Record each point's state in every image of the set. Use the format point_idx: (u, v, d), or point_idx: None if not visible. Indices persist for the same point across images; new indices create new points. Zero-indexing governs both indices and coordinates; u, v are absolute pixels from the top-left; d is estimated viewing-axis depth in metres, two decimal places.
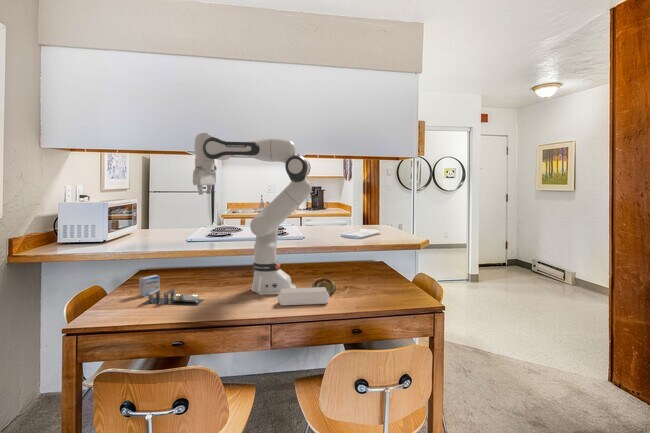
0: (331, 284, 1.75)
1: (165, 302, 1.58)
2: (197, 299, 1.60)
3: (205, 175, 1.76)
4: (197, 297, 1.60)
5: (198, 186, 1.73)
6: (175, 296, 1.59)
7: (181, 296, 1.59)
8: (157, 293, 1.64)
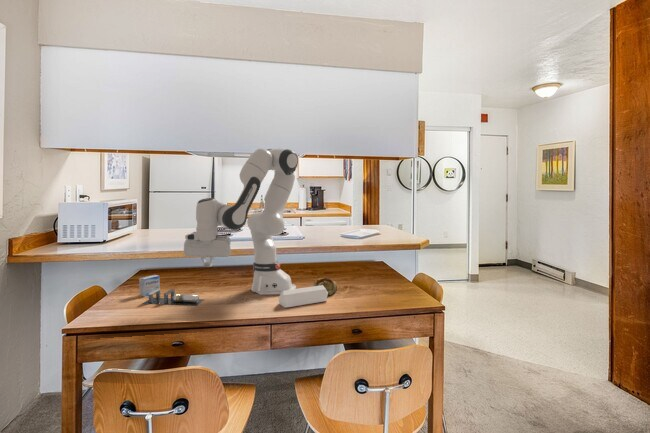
0: (332, 284, 1.75)
1: (165, 302, 1.58)
2: (197, 299, 1.60)
3: None
4: (197, 297, 1.60)
5: (213, 257, 1.57)
6: (175, 296, 1.59)
7: (181, 296, 1.59)
8: (157, 293, 1.64)
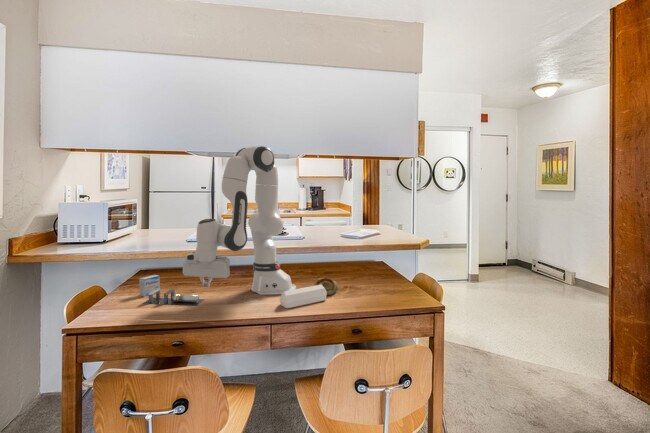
0: (333, 284, 1.75)
1: (165, 302, 1.58)
2: (197, 299, 1.60)
3: None
4: (197, 297, 1.60)
5: (211, 278, 1.58)
6: (175, 296, 1.59)
7: (181, 296, 1.59)
8: (157, 293, 1.64)
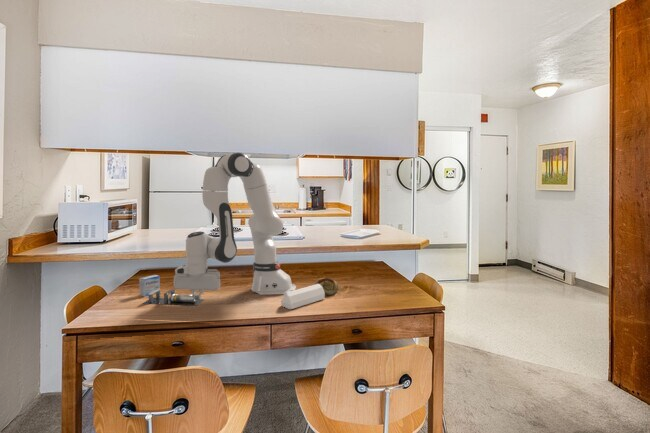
0: (334, 284, 1.75)
1: (165, 302, 1.58)
2: (194, 299, 1.60)
3: None
4: None
5: (202, 290, 1.59)
6: (172, 296, 1.59)
7: (178, 296, 1.59)
8: (157, 293, 1.64)
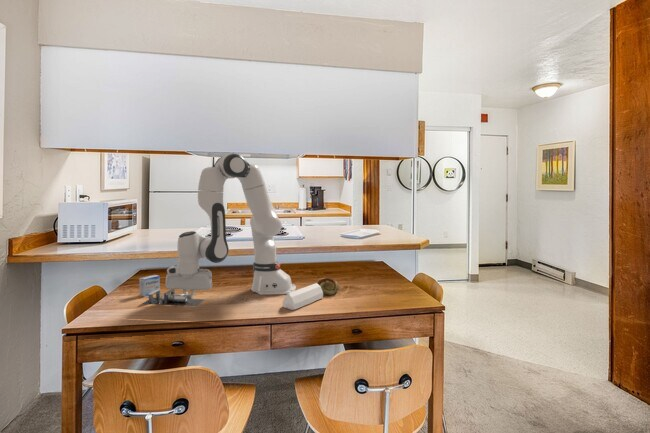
0: (334, 284, 1.75)
1: (165, 302, 1.58)
2: None
3: None
4: None
5: (194, 290, 1.59)
6: None
7: (170, 296, 1.60)
8: (157, 293, 1.64)
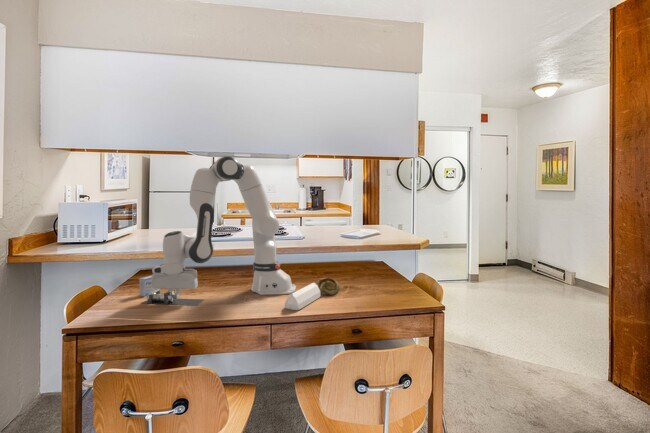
0: (335, 284, 1.75)
1: (165, 302, 1.58)
2: (172, 298, 1.61)
3: None
4: None
5: (179, 289, 1.60)
6: None
7: (156, 295, 1.60)
8: None
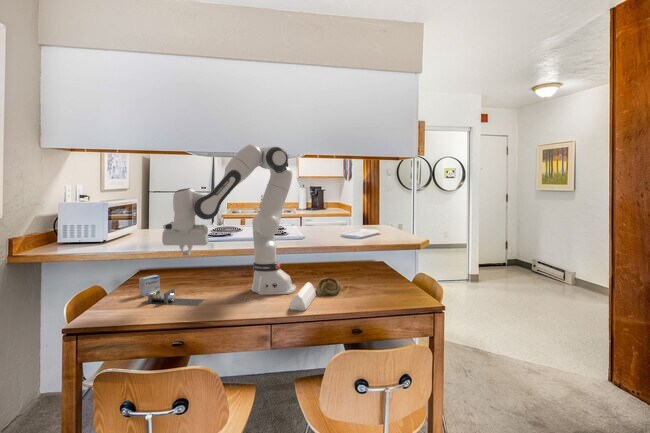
0: (336, 284, 1.76)
1: (165, 302, 1.58)
2: (173, 298, 1.62)
3: None
4: (173, 295, 1.62)
5: (191, 246, 1.62)
6: None
7: (157, 294, 1.61)
8: None
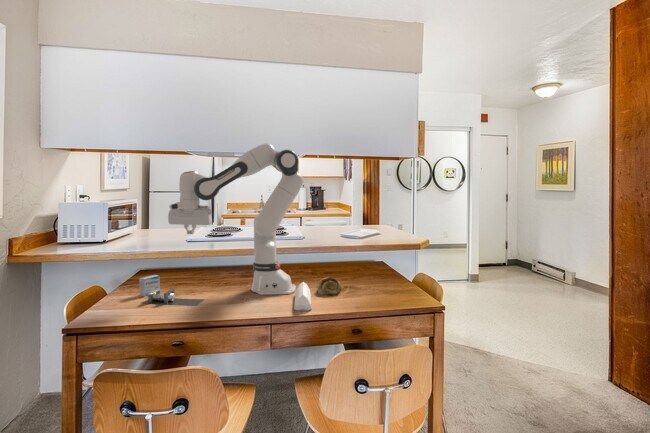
0: (337, 283, 1.76)
1: (165, 302, 1.58)
2: (173, 298, 1.62)
3: None
4: (173, 295, 1.62)
5: (195, 226, 1.71)
6: None
7: (157, 294, 1.61)
8: None
